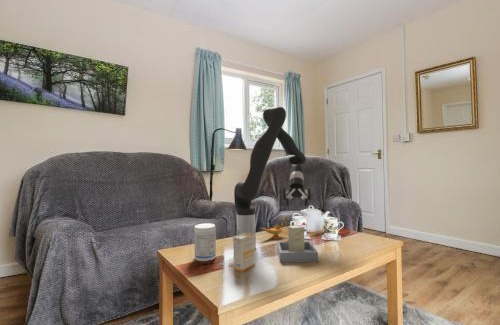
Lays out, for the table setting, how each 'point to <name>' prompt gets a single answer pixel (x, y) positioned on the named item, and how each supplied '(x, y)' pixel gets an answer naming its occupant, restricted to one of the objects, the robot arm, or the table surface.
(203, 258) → the supplement tub
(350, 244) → the table surface
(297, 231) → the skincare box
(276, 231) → the magic lamp
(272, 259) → the table surface
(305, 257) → the bin
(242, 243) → the supplement box
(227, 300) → the table surface
